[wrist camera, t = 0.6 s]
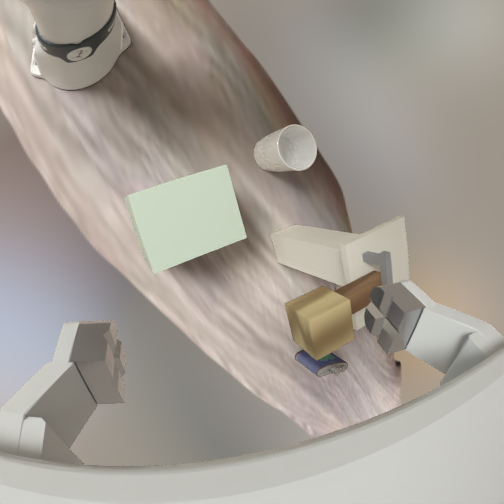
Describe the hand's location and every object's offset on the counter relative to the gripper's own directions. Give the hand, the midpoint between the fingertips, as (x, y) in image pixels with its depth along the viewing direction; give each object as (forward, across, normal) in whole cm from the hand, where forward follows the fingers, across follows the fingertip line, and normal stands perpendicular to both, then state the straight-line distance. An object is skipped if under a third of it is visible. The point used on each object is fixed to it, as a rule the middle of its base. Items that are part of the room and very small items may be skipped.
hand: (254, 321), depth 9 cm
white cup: (+50, -16, +4) cm, 52 cm away
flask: (+38, -26, +48) cm, 66 cm away
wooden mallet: (+18, -15, +15) cm, 28 cm away
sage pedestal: (+42, +3, +12) cm, 44 cm away
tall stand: (+44, -18, +21) cm, 52 cm away
